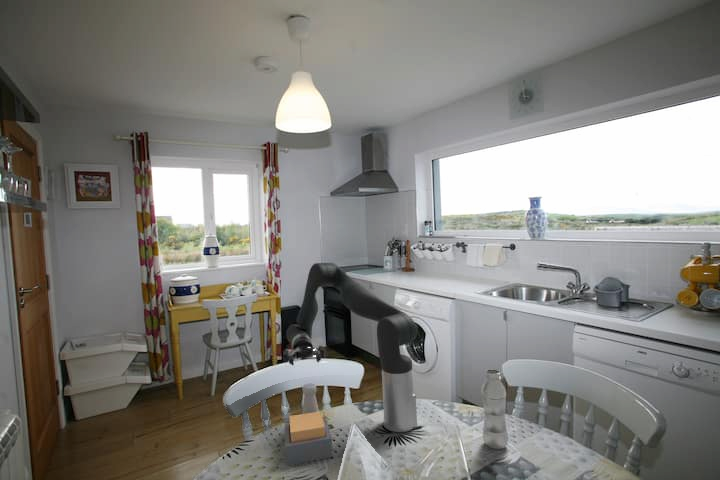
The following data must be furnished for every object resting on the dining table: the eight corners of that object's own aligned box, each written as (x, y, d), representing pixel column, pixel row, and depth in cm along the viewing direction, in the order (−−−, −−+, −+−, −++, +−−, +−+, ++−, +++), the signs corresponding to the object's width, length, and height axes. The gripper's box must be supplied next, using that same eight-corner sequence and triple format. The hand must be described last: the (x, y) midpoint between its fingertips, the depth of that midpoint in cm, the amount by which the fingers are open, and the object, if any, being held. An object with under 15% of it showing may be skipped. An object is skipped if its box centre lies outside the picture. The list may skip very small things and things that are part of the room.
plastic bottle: (482, 450, 97) (479, 375, 97) (483, 436, 104) (480, 366, 103) (509, 454, 95) (506, 377, 95) (508, 440, 101) (505, 368, 101)
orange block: (321, 423, 107) (320, 411, 107) (325, 439, 99) (324, 426, 99) (289, 428, 105) (289, 416, 105) (291, 445, 97) (290, 432, 97)
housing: (326, 433, 109) (325, 416, 109) (332, 456, 98) (331, 438, 98) (285, 440, 107) (284, 423, 107) (286, 465, 95) (285, 446, 95)
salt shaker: (317, 432, 110) (315, 389, 110) (299, 431, 111) (296, 388, 111) (323, 422, 116) (321, 381, 115) (305, 421, 117) (303, 380, 116)
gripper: (282, 338, 138) (283, 352, 122) (320, 334, 141) (326, 347, 125) (283, 358, 138) (284, 374, 122) (321, 353, 141) (327, 369, 126)
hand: (305, 360), depth 124 cm, fingers open, 8 cm apart
